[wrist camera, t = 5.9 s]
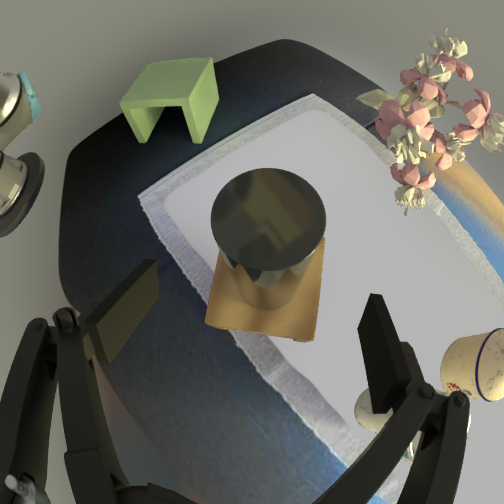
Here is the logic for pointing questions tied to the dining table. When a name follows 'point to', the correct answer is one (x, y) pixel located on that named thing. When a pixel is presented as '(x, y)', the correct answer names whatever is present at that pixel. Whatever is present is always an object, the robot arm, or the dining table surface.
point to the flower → (418, 114)
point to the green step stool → (172, 95)
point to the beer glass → (384, 421)
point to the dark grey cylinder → (268, 233)
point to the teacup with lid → (475, 366)
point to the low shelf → (267, 321)
